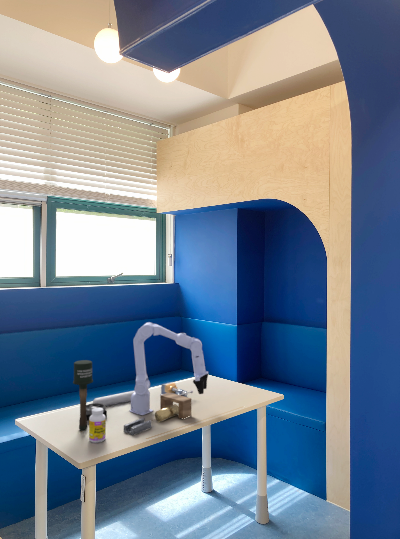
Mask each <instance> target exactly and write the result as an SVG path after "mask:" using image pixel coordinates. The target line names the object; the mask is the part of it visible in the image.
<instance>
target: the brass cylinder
mask: <svg viewBox="0 0 400 539" xmlns="http://www.w3.org/2000/svg"><path fill="white" fill-rule="evenodd" d="M177 414H178V415H179V404H177V403H176V404H174V403H173V405H171V406H169V407H166V408H163V409H161V410H160V409H158V410H156V411H155V412H154V419H155V420H156V421H157V422H159V421H160V422H159V423H161V422H162V421H165V420H167V419H170V418H173V417H175V416H177Z"/></svg>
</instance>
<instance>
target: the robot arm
mask: <svg viewBox="0 0 400 539" xmlns="http://www.w3.org/2000/svg"><path fill="white" fill-rule="evenodd" d="M152 335H153V336H154V337H155V336H159V335H160V336H163V337H165V338H169V339H171V340H173V341H175V343H176V344H177V345H179V346H181V347H183V348H186V349H189V350H190V351H191V359H192V366H193V372H194V373H193V376H194V379H193V381H192V383H193V384H194V386H195V387H196V390H197V392H198V394H199V395H203V394H204V390H207V386H208V377H209V371H207V370H206V366H205V365H206V364H205V359H204V358H205V357H204V351H203V344H202V341H201V340H200V339H199V338H196V337H194V336H193V337H191V336H189V335H187V333H185V332H180V333H176V332H174V331H171V330H170V329H167V328H166V327H163V326H162V325H159V324H157V323H153V322H150V321H148V322H145V323H144V324H143V325H142V326H140V328H138V329H137V331H136V333H135V336H134V337H133V340H132V341H133V352H134V354H133V355H134V364H135V374H136V376H135V385H134V390H133V391H135V392H134V393H133V394H132V396H131V401H130V410H128V412H130V413H134V414H137V415H139V416H145V415H147V414H150V413H152V412H154V409H151V407H150V406H151V398H150V396H151V393H150V391H149V389H150V387H151V382H150V380H149V377H148V373H147V366H146V365H147V364H146V354H145V353H146V352H145V344H144V343H145V341H146V340H147V339H149V338H150V337H151V336H152Z"/></svg>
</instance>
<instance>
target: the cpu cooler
mask: <svg viewBox="0 0 400 539" xmlns="http://www.w3.org/2000/svg"><path fill="white" fill-rule="evenodd" d="M93 408H103V414H104V415H105V417H106V418H107V416H108V412H107V411H108V410H107V409H106V406H105V405H104V404H101V403H93V402H91V403H89V404H86V417H87V422H89V418H90V416H91V415H92V409H93Z"/></svg>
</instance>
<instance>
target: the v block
mask: <svg viewBox="0 0 400 539" xmlns="http://www.w3.org/2000/svg"><path fill="white" fill-rule="evenodd" d="M150 429H152V420H150V419H149V420H146V421H145V418H143V417H142V418H138V419H135V420H133V421H131V422H129V423H125V424H124V425H123V432H124V433H126V434H128V435H130V436H131V435H132V436H135V435H137V434H139V433H143V432H145V431H147V430H150Z"/></svg>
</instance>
